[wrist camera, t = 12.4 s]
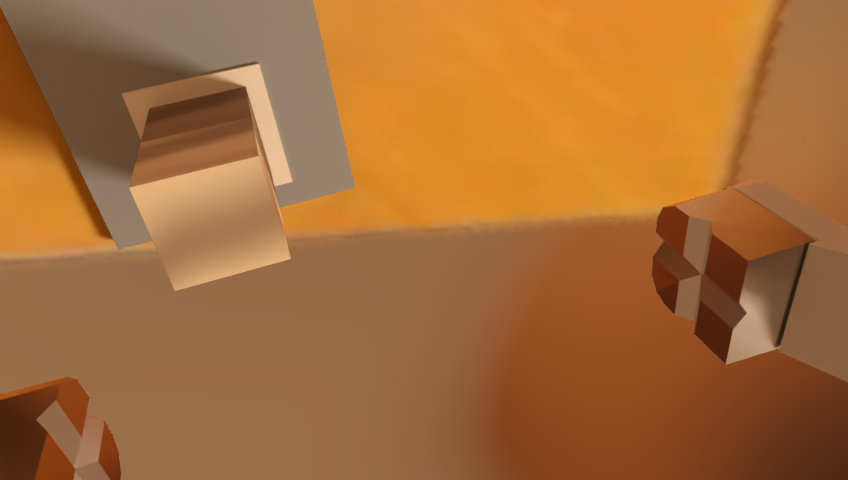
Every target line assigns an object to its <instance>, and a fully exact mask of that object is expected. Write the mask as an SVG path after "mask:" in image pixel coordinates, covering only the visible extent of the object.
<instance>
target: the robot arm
mask: <svg viewBox="0 0 848 480" xmlns="http://www.w3.org/2000/svg"><path fill="white" fill-rule="evenodd" d="M656 233H657V234H658V235H659V237H660V238H661V239H662V240H663V243H662V244H661V246H660V247H659V249H658V250H657V252H656V253H655V255H654V256H653V263H652V277H653V281H654V284H655V288H656V291H657V293H658V295H659V297H660V298H661V300H662V301H663V303H664V304H665V305H666V306H667V307H668V308H669V310H671V312H672V313H673V314H674V315H677V316H679V317H683V318H685V319H688V320H691V321H694V334H695V335H696V336H697V337H698V338H699V339H700V340H701V341H702V342H703V343H704V344H705V345H706V346H707V347H708V348H709V349H710V350H711V351H712V352H713V353H714V354H715V355H716V356H717V357H718V358H719V359H721V361H722V362H723V363H724V364H725V365H726V364H729V363H733V362H736V361H739V360H742V359H746V358H749V357H752V356H755V355H758V354H762V353H765V352H768V351H771V350H775V349H778V348H779V352H782V353H784V354H786V355H788V356H790V357H793V358H795V359H797V360H800V361H802V362H804V363H806V364H808V365H810V366H813V367H815V368H817V369H819V370H822V371H824V372H826V373H828V374H831V375H833V376H835V377H837V378H840V379H842V380H844V381H846V382H848V228H846V227H844V226H842V225H841V224H839V223H837V222H836V221H834V220H832V219H830V218H829V217H827V216H825V215H823V214H822V213H820V212H818V211H817V210H815V209H813V208H812V207H810V206H808V205H806V204H805V203H803V202H801V201H800V200H798V199H796V198H794V197H793V196H791V195H789V194H788V193H786V192H784V191H782V190H781V189H779V188H777V187H776V186H774V185H772V184H770V183H769V182H767V181H762V180H756V179H754V180H750V181H747V182H744V183H741V184H737V185H734V186H731V187H728V188H725V189H723V190H722V191H718V192H715V193H711V194H708V195H704V196H701V197H697V198H694V199H691V200H687V201H684V202H680V203H677V204H673V205H670V206H667V207H663V208H662V210H661V212H660V214H659V216H658V218H657V226H656ZM88 403H89V396H88V394H87V393H86V392H85V390H84V389H83V387H82V386H81V384H80V383H79V382H78V380H77V379H74V378H70V377H64V378H61V379H57V380H53V381H50V382H46V383H42V384H38V385H34V386H30V387H26V388H23V389H19V390H15V391H11V392H8V393H4V394H0V480H121V479H120V478H121V468H120V460H119V451H118V448H117V445H116V443H115V440H114V437H113V434H112V433H111V431H110V429H109V428H108V426H107V424H106V423H105V421H103V420H100V419H98V418H95V417H93V416H90V415H87V414H86V413H87V408H88Z"/></svg>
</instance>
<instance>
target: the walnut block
mask: <svg viewBox="0 0 848 480" xmlns="http://www.w3.org/2000/svg"><path fill="white" fill-rule="evenodd" d="M251 116H252V120H253V123H254V126H255V130H256V133H257V136H258V139H259V143H260V146H261V149H262V153H263V156H264V159H265V162H266V166H267V169H268V172H269V176H270V179H271V182H272V185H273V189H274V192H275V195H276V191H275V186H274V182H273V177H272V172H271V169H270V165H269V162H268V159H267V155H266V152H265V149H264V145H263V142H262V139H261V135H260V132H259V129H258V126H257V122H256V119H255V116H254V112H253V109H252V106H251V102H250V99H249V96H248V92H247V89H246V87H241V88H237V89H233V90H228V91H224V92H219V93H215V94H210V95H206V96H201V97H197V98H193V99H188V100H184V101H179V102H175V103H170V104H166V105H162V106H157V107H153V108H149V111H148V115H147V119H146V123H145V127H144V130H143V134H142V138H141V142H144V141H148V140H153V139H157V138H161V137H166V136H170V135H174V134H178V133H183V132H187V131H191V130H195V129H200V128H204V127H208V126H213V125H217V124H221V123H225V122H230V121H234V120H238V119H242V118H247V117H251ZM276 198H277V196H276ZM277 202H278V200H277Z"/></svg>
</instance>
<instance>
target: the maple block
mask: <svg viewBox="0 0 848 480" xmlns="http://www.w3.org/2000/svg"><path fill="white" fill-rule="evenodd" d="M129 189H130V191H131V193H132V196H133V198H134V200H135V202H136V204H137V207H138V209H139V211H140V213H141V216H142V218H143V220H144V222H145V225H146V227H147V229H148V231H149V234H150V236H151V238H152V240H153V243H154V245H155V247H156V249H157V252H158V254H159V256H160V258H161V260H162V263H163V265H164V267H165V269H166V272H167V274H168V276H169V278H170V281H171V283H172V285H173V287H174V290H175V291H176V290H179V289H184V288H187V287H191V286H194V285H198V284H201V283H205V282H209V281H212V280H216V279H220V278H223V277H227V276H230V275H234V274H238V273H241V272H245V271H248V270H252V269H256V268H259V267H263V266H266V265H270V264H274V263H277V262H281V261H284V260H288V259H290V254H289V250H288V245H287V240H286V236H285V231H284V227H283V222H282V217H281V213H280V208H279V205H278V202H277V198H276V195H275V192H274V189H273V185H272V182H271V179H270V176H269V172H268V169H267V166H266V162H265V159H264V156H263V153H262V149H261V146H260V143H259V139H258V136H257V133H256V130H255V126H254V123H253V120H252V116H251V117H247V118H242V119H238V120H234V121H230V122H225V123H221V124H217V125H213V126H208V127H204V128H200V129H195V130H191V131H187V132H183V133H178V134H174V135H170V136H166V137H161V138H157V139H153V140H148V141H144V142H141V144H140V148H139V152H138V156H137V159H136V163H135V167H134V171H133V175H132V178H131V182H130V186H129Z"/></svg>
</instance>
